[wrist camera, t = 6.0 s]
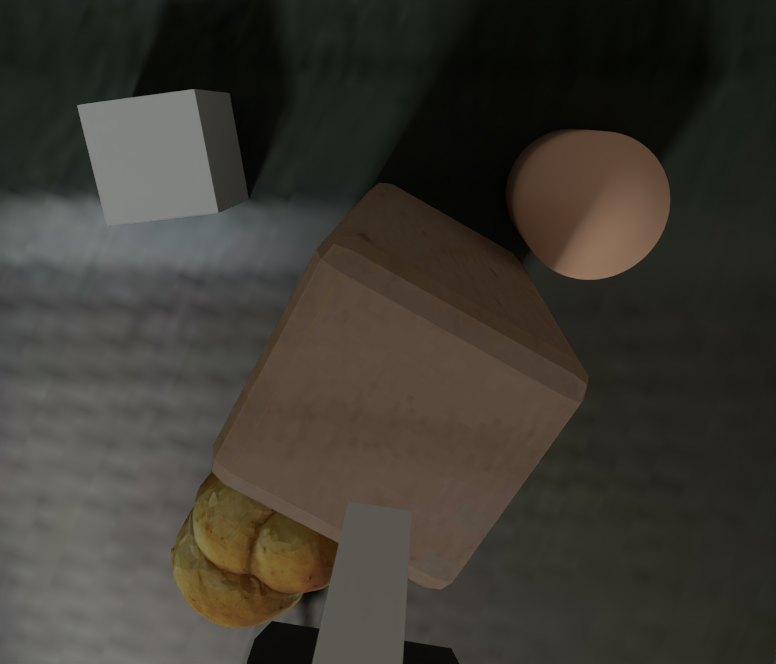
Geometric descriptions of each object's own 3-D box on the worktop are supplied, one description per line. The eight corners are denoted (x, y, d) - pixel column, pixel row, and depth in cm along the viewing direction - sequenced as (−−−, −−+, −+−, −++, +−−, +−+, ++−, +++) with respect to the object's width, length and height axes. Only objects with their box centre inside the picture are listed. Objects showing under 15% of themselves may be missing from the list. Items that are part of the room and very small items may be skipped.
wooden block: (378, 174, 39) (325, 227, 20) (525, 258, 40) (609, 385, 21) (301, 317, 42) (192, 482, 23) (440, 392, 43) (445, 611, 24)
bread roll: (262, 615, 49) (231, 706, 42) (152, 539, 48) (99, 619, 40) (371, 498, 46) (358, 574, 38) (255, 413, 44) (218, 474, 37)
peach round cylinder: (495, 242, 40) (507, 268, 33) (518, 120, 38) (536, 120, 31) (612, 260, 40) (648, 289, 33) (643, 138, 38) (687, 143, 31)
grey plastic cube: (152, 210, 41) (106, 226, 35) (129, 107, 39) (77, 105, 33) (249, 199, 40) (218, 212, 34) (229, 93, 38) (194, 88, 33)
